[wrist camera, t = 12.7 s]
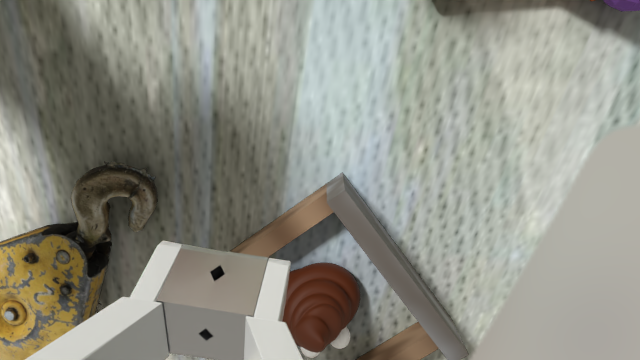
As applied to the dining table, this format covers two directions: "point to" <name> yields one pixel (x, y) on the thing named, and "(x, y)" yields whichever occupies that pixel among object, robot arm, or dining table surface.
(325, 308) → the poop emoji
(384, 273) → the channel
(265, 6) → the dining table surface
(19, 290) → the pulley block
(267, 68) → the dining table surface
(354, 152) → the dining table surface
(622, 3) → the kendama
